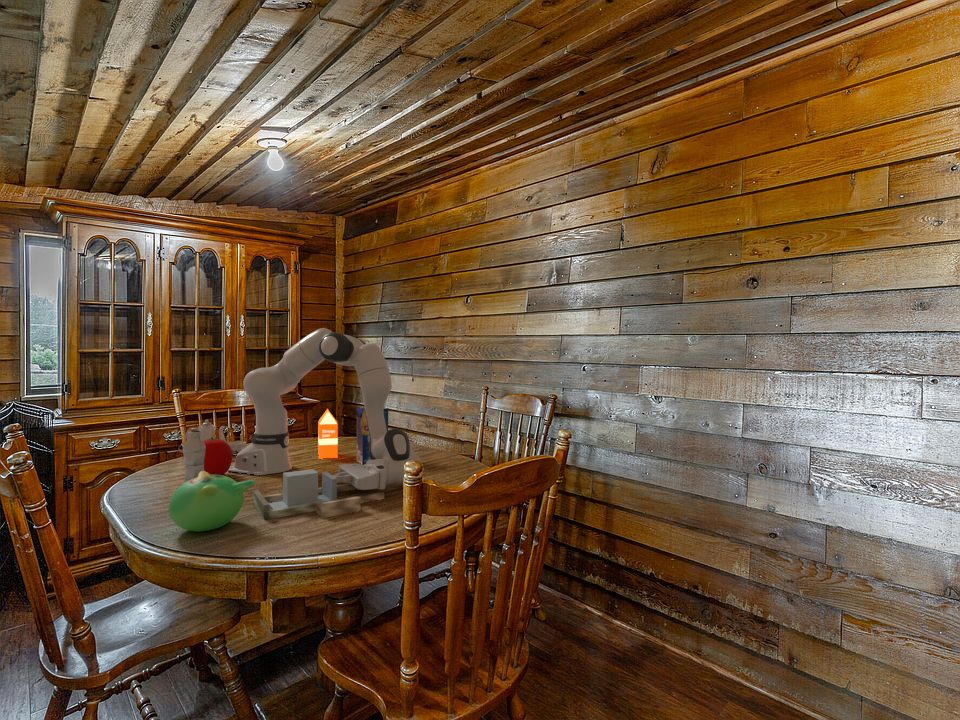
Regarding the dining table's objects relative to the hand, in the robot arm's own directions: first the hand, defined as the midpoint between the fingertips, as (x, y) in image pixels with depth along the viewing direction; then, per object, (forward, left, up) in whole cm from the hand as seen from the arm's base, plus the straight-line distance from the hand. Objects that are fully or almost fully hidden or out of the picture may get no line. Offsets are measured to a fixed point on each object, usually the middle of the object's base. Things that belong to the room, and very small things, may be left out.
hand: (332, 478), depth 163 cm
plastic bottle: (-46, -1, -7) cm, 46 cm away
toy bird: (-22, -29, -7) cm, 37 cm away
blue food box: (-4, +50, -7) cm, 51 cm away
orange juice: (-25, +55, -7) cm, 61 cm away
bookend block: (-7, -6, -7) cm, 12 cm away
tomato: (-53, +19, -7) cm, 56 cm away
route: (-1, -5, -7) cm, 8 cm away
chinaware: (-72, +47, -7) cm, 86 cm away
